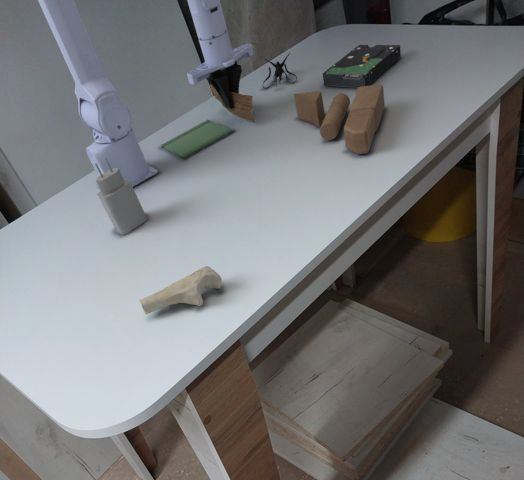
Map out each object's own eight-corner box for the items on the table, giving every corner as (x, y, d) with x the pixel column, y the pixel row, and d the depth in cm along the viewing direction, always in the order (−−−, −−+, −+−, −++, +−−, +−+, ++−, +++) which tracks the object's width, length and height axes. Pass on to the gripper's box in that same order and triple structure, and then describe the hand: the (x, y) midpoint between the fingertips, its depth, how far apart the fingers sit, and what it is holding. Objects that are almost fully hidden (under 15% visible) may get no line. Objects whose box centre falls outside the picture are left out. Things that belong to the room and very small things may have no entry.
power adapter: (148, 218, 90) (119, 153, 82) (124, 235, 89) (91, 171, 80) (139, 214, 92) (109, 150, 84) (114, 230, 90) (81, 167, 82)
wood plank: (260, 120, 105) (256, 94, 102) (252, 124, 105) (247, 98, 101) (221, 104, 115) (216, 80, 112) (213, 107, 115) (208, 83, 111)
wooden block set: (383, 75, 94) (367, 123, 83) (385, 106, 98) (370, 156, 87) (294, 86, 100) (267, 132, 89) (299, 115, 104) (274, 163, 93)
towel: (184, 159, 103) (183, 156, 103) (161, 147, 110) (161, 144, 109) (233, 132, 106) (232, 129, 106) (208, 121, 113) (207, 119, 113)
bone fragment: (145, 311, 73) (134, 291, 71) (219, 278, 74) (211, 258, 72) (151, 330, 70) (141, 311, 67) (229, 296, 71) (221, 276, 68)
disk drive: (359, 58, 118) (323, 86, 111) (358, 44, 116) (321, 73, 109) (401, 58, 112) (365, 89, 105) (401, 44, 110) (364, 74, 103)
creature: (297, 90, 116) (297, 68, 120) (292, 67, 112) (293, 45, 115) (263, 97, 118) (264, 75, 122) (257, 75, 113) (258, 53, 117)
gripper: (191, 52, 95) (214, 125, 104) (254, 21, 99) (270, 94, 108) (173, 47, 99) (196, 118, 109) (234, 18, 103) (251, 88, 113)
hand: (232, 106), depth 109 cm, fingers closed on wood plank, 1 cm apart
